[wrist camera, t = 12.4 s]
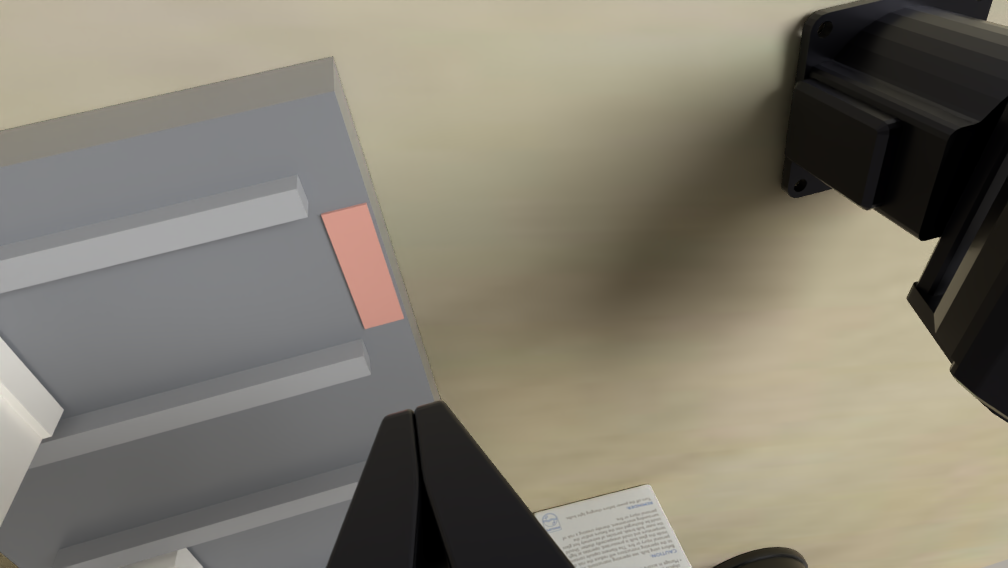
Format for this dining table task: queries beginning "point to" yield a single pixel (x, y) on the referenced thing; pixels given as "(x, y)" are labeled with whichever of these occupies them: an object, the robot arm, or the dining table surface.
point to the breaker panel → (201, 324)
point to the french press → (767, 559)
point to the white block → (21, 422)
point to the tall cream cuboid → (169, 561)
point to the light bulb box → (615, 531)
